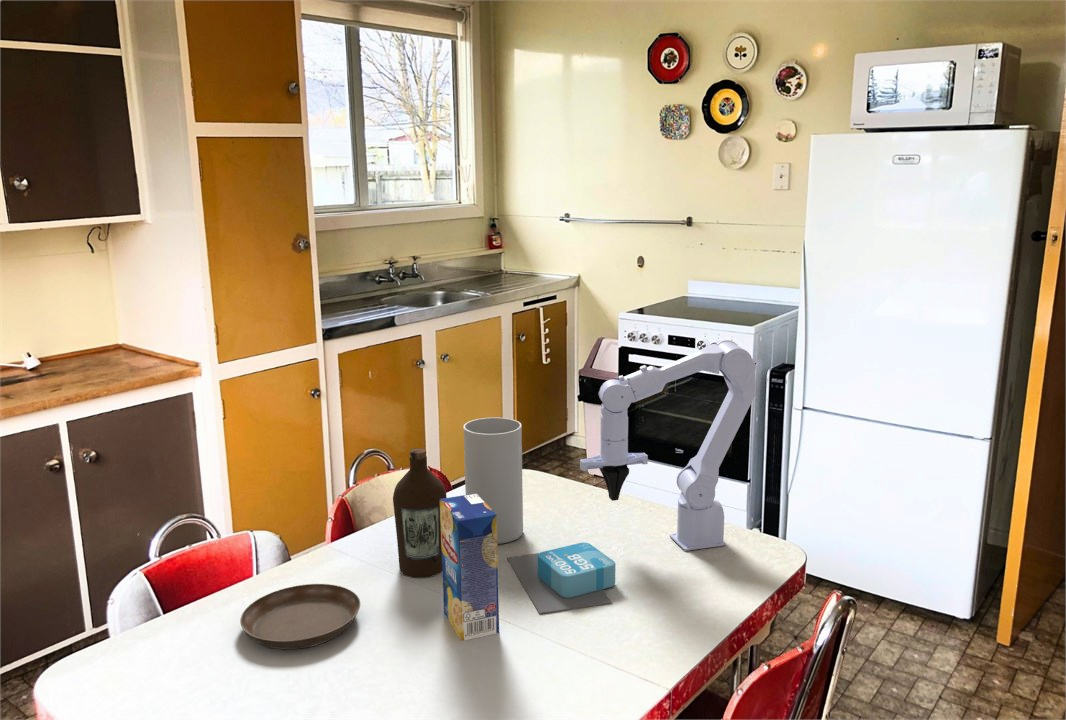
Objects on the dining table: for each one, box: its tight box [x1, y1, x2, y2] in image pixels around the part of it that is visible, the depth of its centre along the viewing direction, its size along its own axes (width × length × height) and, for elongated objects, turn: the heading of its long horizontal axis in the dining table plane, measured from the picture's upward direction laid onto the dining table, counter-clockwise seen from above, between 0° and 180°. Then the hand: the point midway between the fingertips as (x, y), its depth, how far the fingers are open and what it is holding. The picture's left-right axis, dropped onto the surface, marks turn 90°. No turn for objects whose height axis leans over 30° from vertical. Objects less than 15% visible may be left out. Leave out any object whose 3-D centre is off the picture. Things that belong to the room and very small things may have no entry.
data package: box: [538, 542, 616, 598], centre depth 168 cm, size 12×4×12 cm
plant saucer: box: [239, 583, 361, 650], centre depth 153 cm, size 21×21×3 cm
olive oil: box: [392, 448, 448, 579], centre depth 172 cm, size 11×11×25 cm
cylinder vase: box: [463, 417, 524, 545], centre depth 188 cm, size 12×12×25 cm
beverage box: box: [440, 493, 500, 642], centre depth 151 cm, size 7×11×22 cm, turn 22°
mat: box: [506, 552, 613, 615], centre depth 169 cm, size 14×24×1 cm, turn 16°
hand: (613, 498), depth 183 cm, fingers closed
